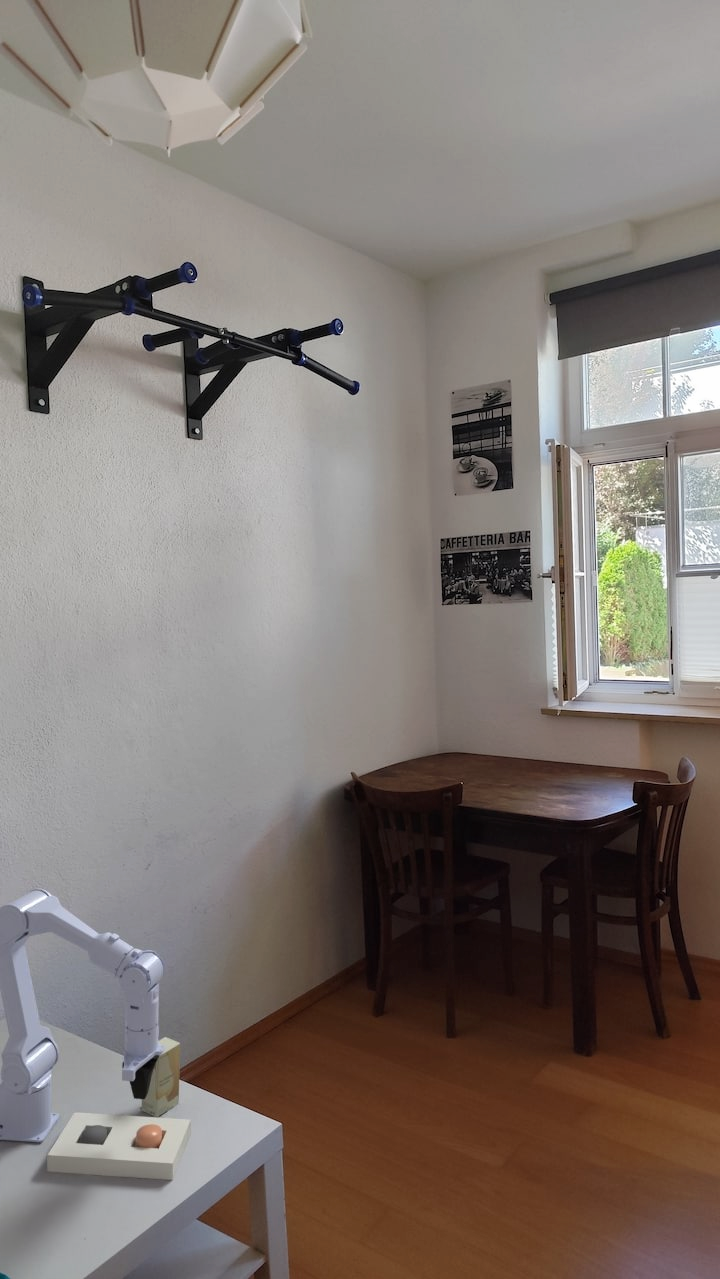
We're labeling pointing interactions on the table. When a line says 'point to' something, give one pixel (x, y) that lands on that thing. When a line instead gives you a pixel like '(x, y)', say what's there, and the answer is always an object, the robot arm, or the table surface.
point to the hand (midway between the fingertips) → (140, 1096)
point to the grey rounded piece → (94, 1135)
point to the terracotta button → (149, 1136)
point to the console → (119, 1147)
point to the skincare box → (164, 1080)
